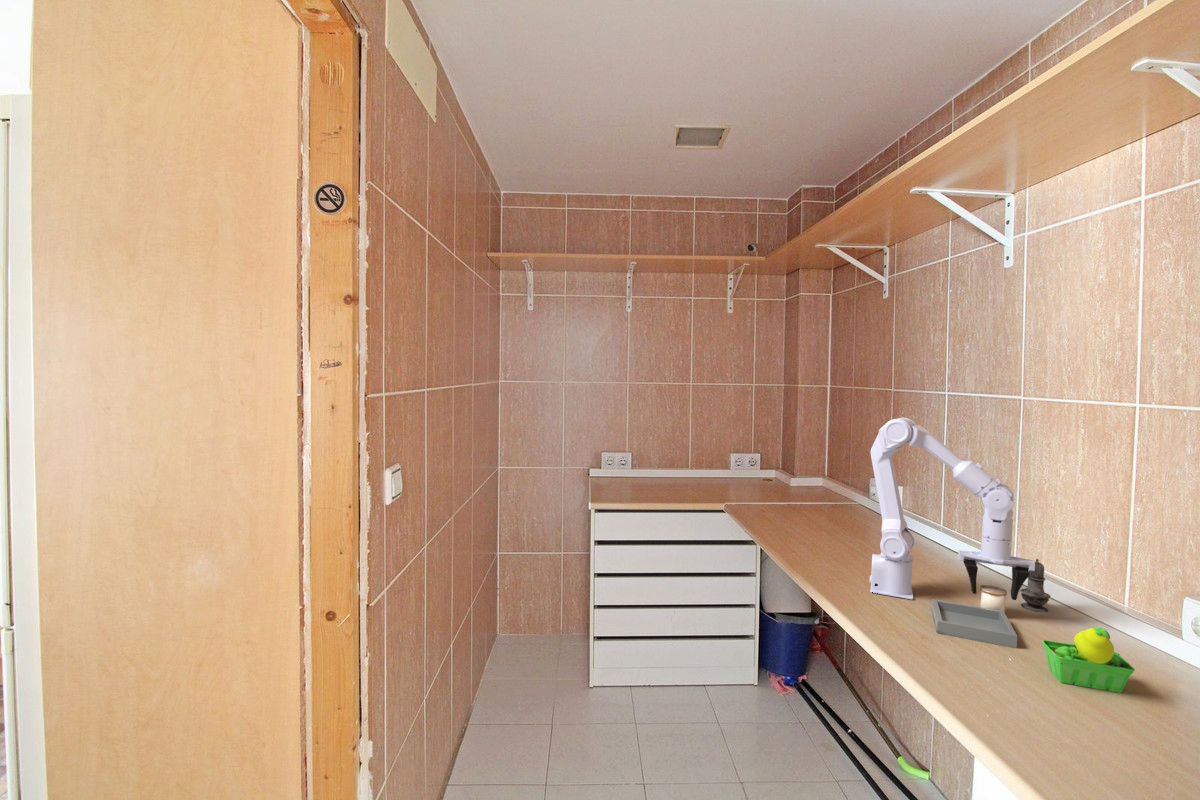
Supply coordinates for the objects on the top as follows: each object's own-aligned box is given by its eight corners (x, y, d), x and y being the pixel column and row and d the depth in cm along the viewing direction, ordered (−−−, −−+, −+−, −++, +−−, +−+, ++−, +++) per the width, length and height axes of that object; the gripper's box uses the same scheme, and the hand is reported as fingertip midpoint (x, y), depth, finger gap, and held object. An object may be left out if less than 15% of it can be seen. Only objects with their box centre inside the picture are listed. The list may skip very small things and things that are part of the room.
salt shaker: (1055, 614, 134) (1058, 563, 134) (1026, 611, 135) (1029, 561, 135) (1041, 604, 140) (1044, 556, 139) (1014, 601, 141) (1017, 553, 141)
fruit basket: (1112, 677, 106) (1116, 617, 105) (1139, 702, 97) (1143, 637, 97) (1038, 665, 110) (1042, 607, 109) (1058, 688, 101) (1062, 626, 101)
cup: (980, 616, 132) (981, 590, 132) (976, 608, 136) (978, 583, 136) (1007, 621, 130) (1009, 594, 129) (1003, 612, 134) (1004, 587, 134)
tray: (936, 632, 122) (937, 621, 122) (931, 609, 135) (931, 598, 135) (1016, 648, 116) (1017, 636, 116) (1003, 622, 129) (1003, 611, 129)
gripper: (961, 537, 132) (958, 595, 132) (1039, 546, 125) (1036, 607, 126) (958, 529, 138) (955, 585, 139) (1031, 538, 132) (1028, 596, 132)
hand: (993, 595), depth 133 cm, fingers open, 7 cm apart
